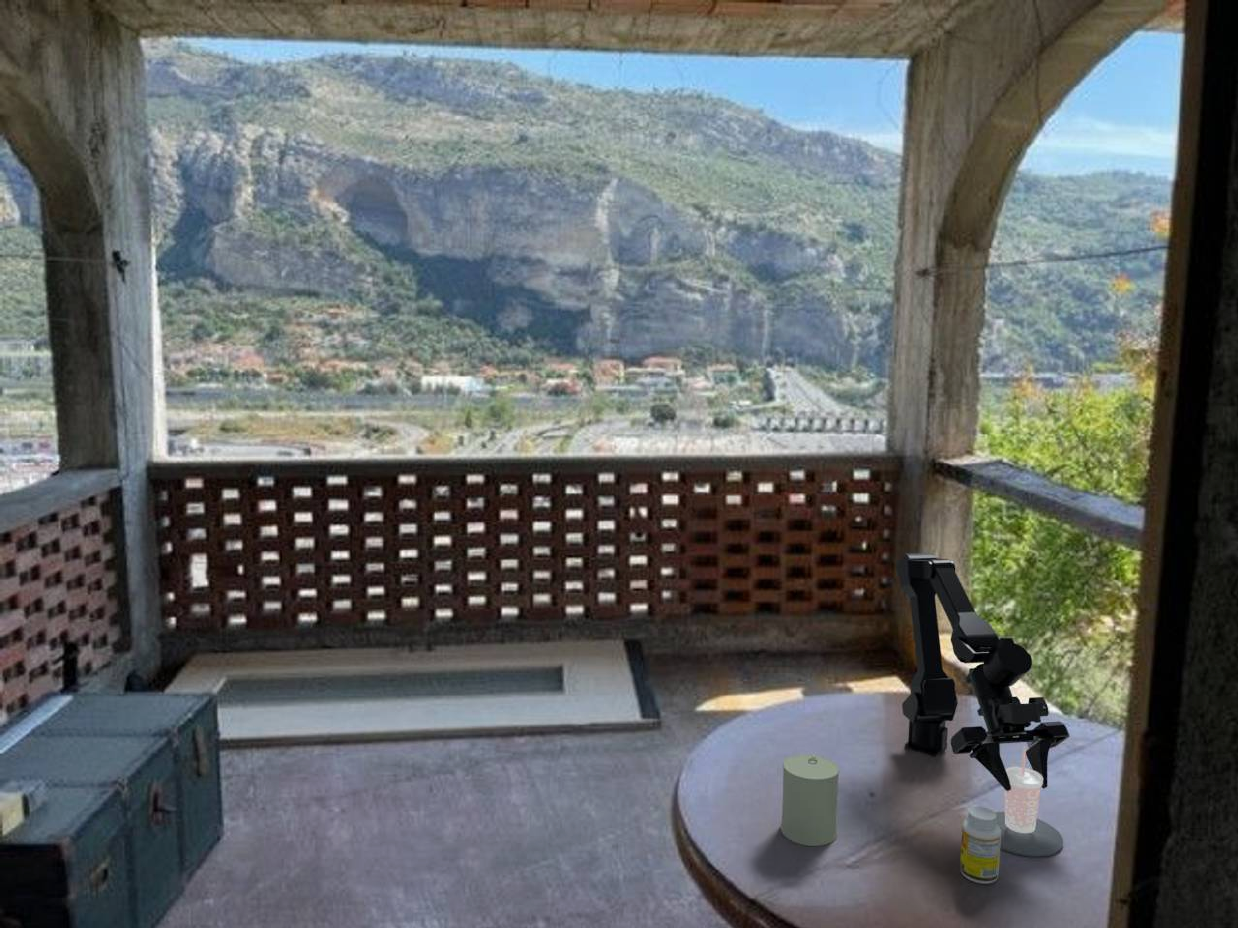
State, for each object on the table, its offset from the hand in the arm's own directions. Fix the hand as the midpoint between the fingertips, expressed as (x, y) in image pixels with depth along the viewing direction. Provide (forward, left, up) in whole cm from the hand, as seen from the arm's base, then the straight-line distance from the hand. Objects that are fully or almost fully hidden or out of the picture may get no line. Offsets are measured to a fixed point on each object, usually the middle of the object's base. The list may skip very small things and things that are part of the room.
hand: (1027, 788), depth 150 cm
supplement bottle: (-2, -15, -9) cm, 18 cm away
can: (-28, -21, -9) cm, 36 cm away
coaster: (-1, +1, -9) cm, 9 cm away
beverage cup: (-1, +1, -7) cm, 8 cm away
